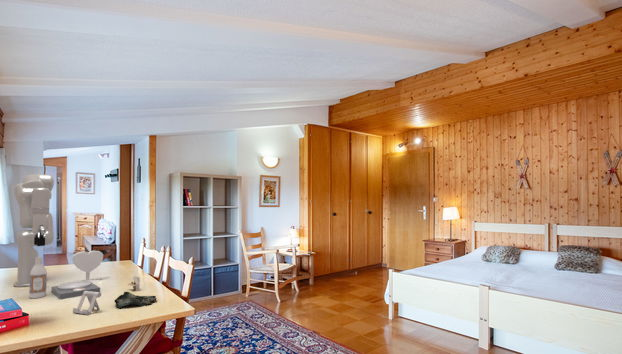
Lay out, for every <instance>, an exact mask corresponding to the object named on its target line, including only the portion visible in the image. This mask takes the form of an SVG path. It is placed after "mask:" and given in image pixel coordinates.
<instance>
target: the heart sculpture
mask: <svg viewBox="0 0 622 354" xmlns="http://www.w3.org/2000/svg"><path fill="white" fill-rule="evenodd" d="M103 261H104V254H103V252H102V251H99V250H90V251H88V252H87V251H79V252H75V254H73V255H72V263H73V264H74V266H75V267H76V269H78V270H80V271H81V272H85V279H84V280H83V281H90V282H92V283H93V282H94V283H95V282H100V281H101V279H98V278H96V279H90V278H91V277H90V276H91V275H90V273H91V272H92V271H94V270H95V269H97V268H98V267H99V266H100V265H101V263H102V262H103Z"/></svg>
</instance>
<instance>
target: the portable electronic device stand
mask: <svg viewBox="0 0 622 354" xmlns="http://www.w3.org/2000/svg"><path fill="white" fill-rule="evenodd" d="M101 296H102V292H101V291H100V292H92V291H84V292H83V295H82V296H80V300H79V303H78V304H77V307H76V308H75V307H73V308H72V313H74V314H79V315H80V314H81V315H85V316H90V315H91V314H92V311H93V310H95V308H96V309H97V310H98V311H99V310H101V309H100V306H99V303H98V301H97V298H100V297H101ZM85 299H87V301H88V303H89V306H88V309H82V307H83V304H84V302H85Z"/></svg>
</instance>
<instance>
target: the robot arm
mask: <svg viewBox="0 0 622 354" xmlns="http://www.w3.org/2000/svg"><path fill="white" fill-rule="evenodd" d="M22 181H23V182H20V183H17V184H15V186H14V197H15V199H16V201H17V203H18V206H19V225H20V227H21V228H23V229H25V230H22V231H19V232H18V233H17V234H16V242H17V243H16V244H17V278H16V279H17V281H16V282H15V283H14V284H13V287H18V288H19V287H30V272H31V270H32V268H33V267H34V266H35V258H36V257H39V252H38V250H37V249H36V248H34V247H44V246H49V245H52V244H53V242H54V238H55V237H54V220H53V219H54V217H53V215H52V213H50V200H52V190H53V188H54V186H55V180H54V177H53V176H52V175H51V174H47V173H46V174H44V173H43V174H42V173H31V174H27V175H25V176H24V177H23V180H22Z"/></svg>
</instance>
